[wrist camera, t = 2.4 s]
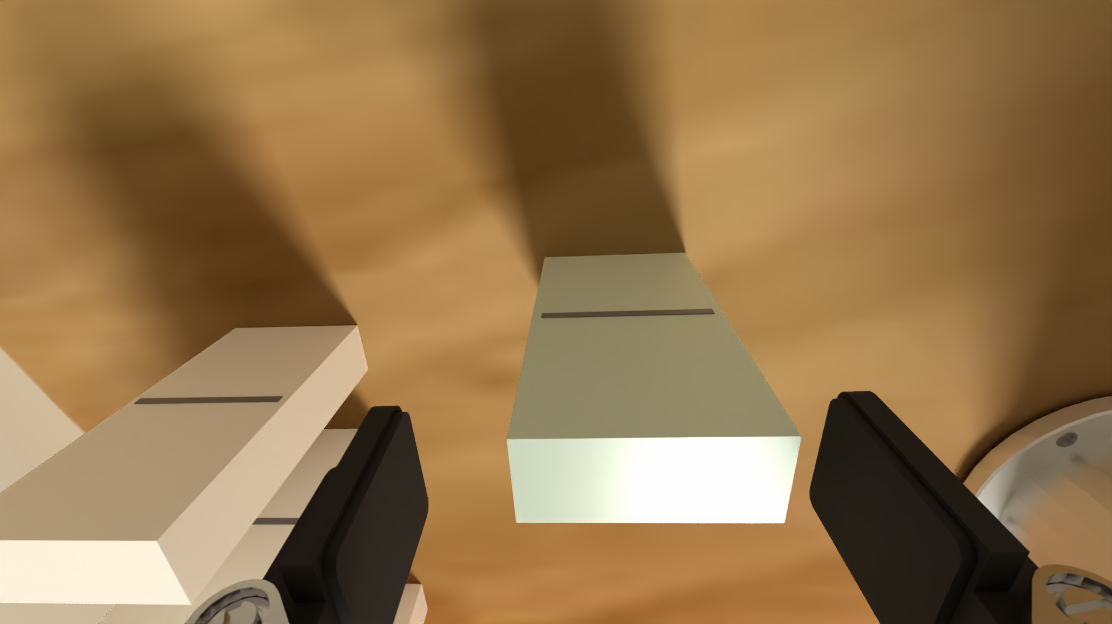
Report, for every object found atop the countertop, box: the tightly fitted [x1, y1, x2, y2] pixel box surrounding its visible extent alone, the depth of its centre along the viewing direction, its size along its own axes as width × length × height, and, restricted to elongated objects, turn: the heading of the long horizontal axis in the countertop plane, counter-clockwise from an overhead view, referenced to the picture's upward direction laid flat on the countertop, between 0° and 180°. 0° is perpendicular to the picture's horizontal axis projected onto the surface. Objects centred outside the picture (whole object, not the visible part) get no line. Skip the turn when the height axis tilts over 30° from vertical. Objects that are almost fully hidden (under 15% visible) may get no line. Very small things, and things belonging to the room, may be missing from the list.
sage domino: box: [507, 253, 802, 523], centre depth 16 cm, size 2×6×12 cm, turn 93°
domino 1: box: [0, 325, 368, 605], centre depth 18 cm, size 2×6×12 cm, turn 93°
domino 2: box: [98, 429, 358, 624], centre depth 21 cm, size 2×6×12 cm, turn 93°
